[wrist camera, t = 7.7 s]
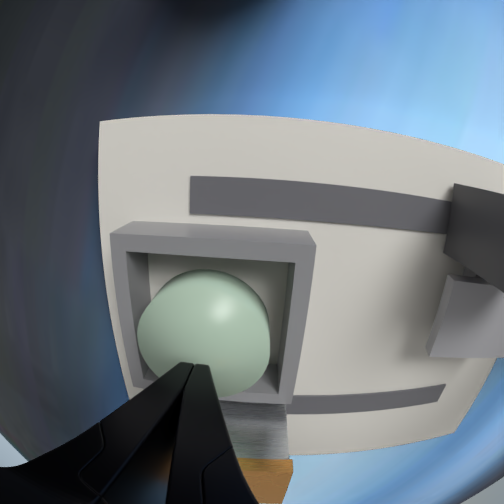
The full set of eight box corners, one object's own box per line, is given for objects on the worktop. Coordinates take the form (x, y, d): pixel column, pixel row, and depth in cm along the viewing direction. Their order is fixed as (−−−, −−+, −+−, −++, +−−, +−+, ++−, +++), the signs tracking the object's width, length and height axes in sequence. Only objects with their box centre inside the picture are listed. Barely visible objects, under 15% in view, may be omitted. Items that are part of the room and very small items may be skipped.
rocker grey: (526, 284, 9) (534, 290, 9) (502, 349, 10) (508, 357, 10) (447, 273, 10) (454, 280, 10) (425, 346, 11) (429, 356, 11)
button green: (274, 273, 10) (276, 294, 8) (264, 374, 11) (264, 402, 10) (148, 264, 10) (129, 281, 9) (158, 363, 11) (146, 388, 10)
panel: (527, 177, 11) (568, 186, 8) (446, 419, 16) (463, 450, 13) (116, 124, 11) (72, 116, 8) (147, 422, 17) (132, 460, 13)
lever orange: (286, 384, 13) (293, 472, 8) (279, 425, 14) (281, 503, 9) (218, 380, 13) (201, 466, 8) (219, 421, 14) (206, 499, 9)
